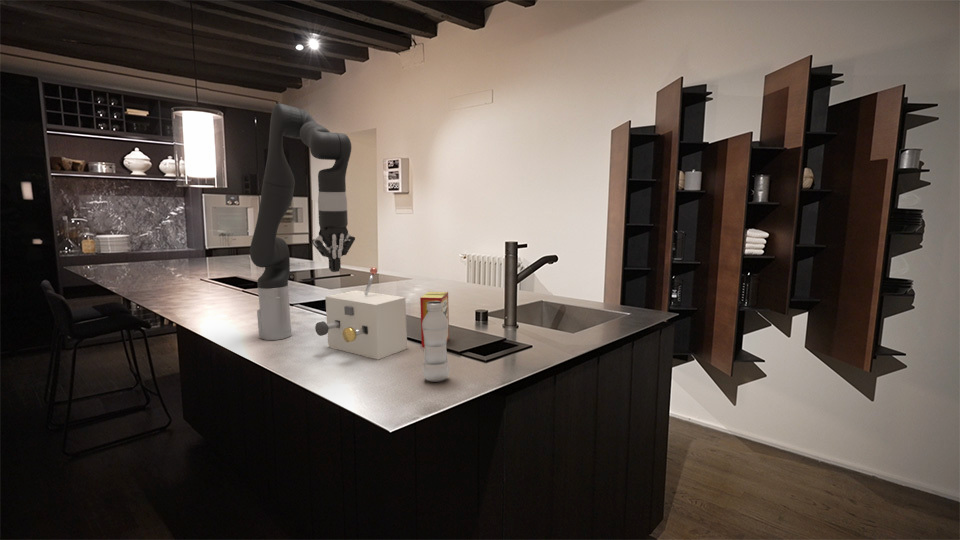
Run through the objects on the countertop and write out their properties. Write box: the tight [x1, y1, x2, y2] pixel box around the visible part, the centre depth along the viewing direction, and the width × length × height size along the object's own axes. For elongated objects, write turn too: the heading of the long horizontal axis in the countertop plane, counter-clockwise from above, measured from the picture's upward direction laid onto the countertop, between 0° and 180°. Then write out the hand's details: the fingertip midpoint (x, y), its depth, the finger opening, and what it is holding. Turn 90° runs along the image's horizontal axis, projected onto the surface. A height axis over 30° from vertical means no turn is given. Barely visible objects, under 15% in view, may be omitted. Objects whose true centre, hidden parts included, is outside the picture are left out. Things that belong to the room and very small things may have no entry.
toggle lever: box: [364, 267, 378, 296], centre depth 148 cm, size 2×2×9 cm
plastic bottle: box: [422, 301, 450, 383], centre depth 120 cm, size 6×7×20 cm
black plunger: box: [314, 320, 340, 337], centre depth 144 cm, size 4×7×4 cm, turn 146°
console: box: [324, 289, 408, 361], centre depth 147 cm, size 22×13×16 cm, turn 56°
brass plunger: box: [342, 327, 368, 342], centre depth 137 cm, size 4×7×4 cm, turn 146°
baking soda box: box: [419, 291, 450, 348], centre depth 152 cm, size 10×6×16 cm
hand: (335, 271), depth 134 cm, fingers closed
